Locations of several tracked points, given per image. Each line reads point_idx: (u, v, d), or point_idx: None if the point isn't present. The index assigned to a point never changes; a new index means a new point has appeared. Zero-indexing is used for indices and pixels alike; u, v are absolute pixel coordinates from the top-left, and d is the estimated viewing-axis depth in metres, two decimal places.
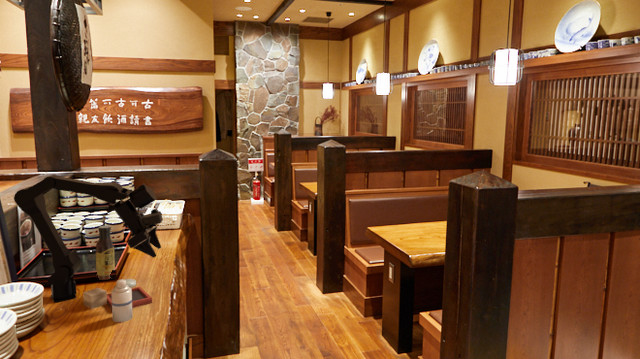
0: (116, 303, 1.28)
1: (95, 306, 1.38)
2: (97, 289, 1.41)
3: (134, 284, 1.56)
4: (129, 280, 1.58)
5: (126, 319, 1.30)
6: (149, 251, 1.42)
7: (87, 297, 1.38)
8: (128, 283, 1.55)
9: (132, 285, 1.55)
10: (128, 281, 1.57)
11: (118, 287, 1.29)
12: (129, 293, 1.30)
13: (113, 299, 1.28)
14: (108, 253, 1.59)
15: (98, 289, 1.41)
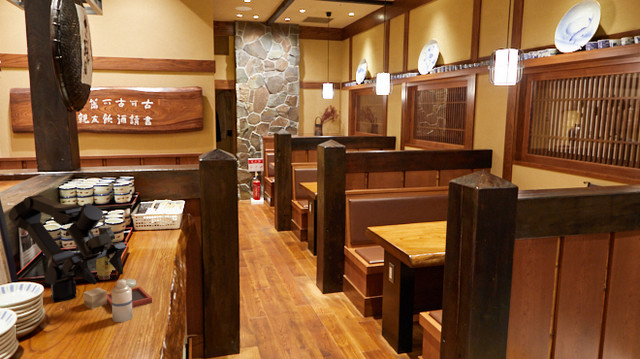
0: (116, 303, 1.28)
1: (95, 306, 1.38)
2: (97, 289, 1.41)
3: (134, 284, 1.56)
4: (129, 280, 1.58)
5: (126, 319, 1.30)
6: (88, 278, 1.28)
7: (87, 297, 1.38)
8: (128, 283, 1.55)
9: (132, 285, 1.55)
10: (128, 281, 1.57)
11: (118, 287, 1.29)
12: (129, 293, 1.30)
13: (113, 299, 1.28)
14: None
15: (98, 289, 1.41)
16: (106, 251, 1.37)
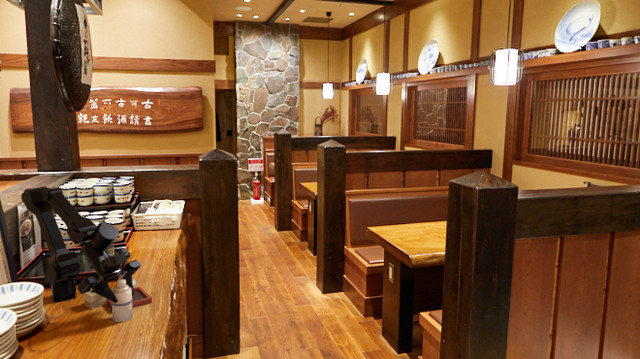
0: (116, 303, 1.28)
1: (95, 306, 1.38)
2: None
3: (134, 284, 1.55)
4: None
5: (126, 319, 1.30)
6: (108, 296, 1.27)
7: (87, 297, 1.38)
8: None
9: None
10: None
11: (118, 287, 1.29)
12: (129, 293, 1.30)
13: None
14: None
15: None
16: (121, 270, 1.35)
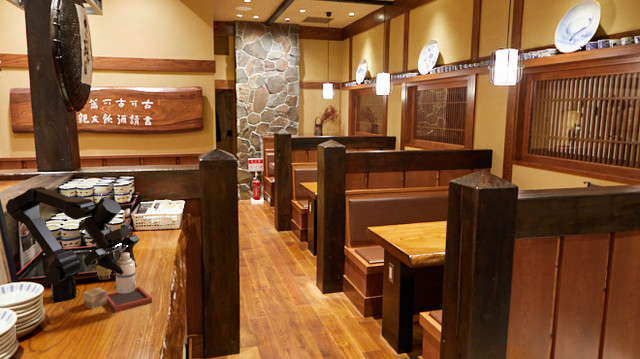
0: (121, 275, 1.33)
1: (95, 306, 1.38)
2: (97, 289, 1.41)
3: None
4: None
5: (131, 290, 1.35)
6: (114, 268, 1.32)
7: (87, 297, 1.38)
8: None
9: None
10: None
11: (123, 259, 1.34)
12: (133, 265, 1.35)
13: None
14: None
15: (98, 289, 1.41)
16: (121, 244, 1.39)
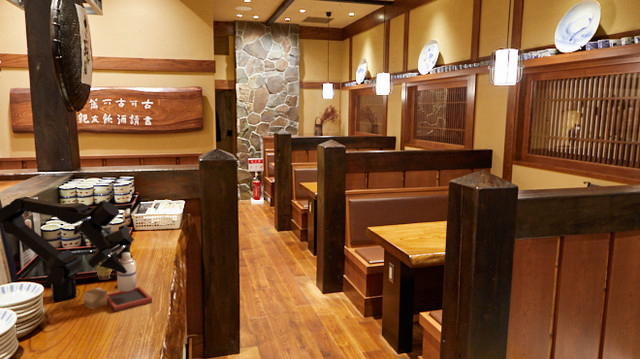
0: None
1: (95, 306, 1.38)
2: (97, 289, 1.41)
3: None
4: None
5: (133, 288, 1.41)
6: (118, 268, 1.37)
7: (87, 297, 1.38)
8: None
9: None
10: None
11: (125, 259, 1.40)
12: (135, 263, 1.42)
13: None
14: None
15: (98, 289, 1.41)
16: (118, 245, 1.44)
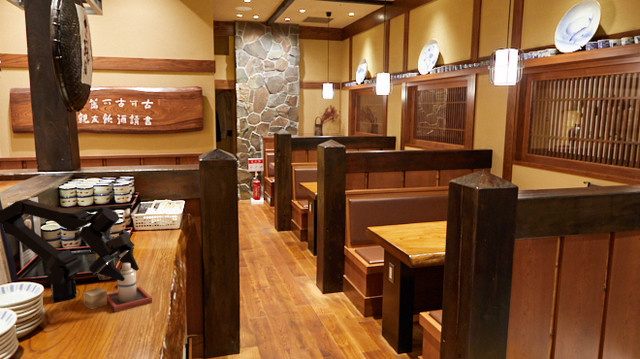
0: (125, 284, 1.39)
1: (95, 306, 1.38)
2: (97, 289, 1.41)
3: None
4: None
5: (134, 298, 1.42)
6: (115, 275, 1.36)
7: (87, 297, 1.38)
8: None
9: None
10: None
11: (125, 270, 1.40)
12: (135, 274, 1.42)
13: (121, 281, 1.39)
14: None
15: (98, 289, 1.41)
16: (119, 250, 1.45)
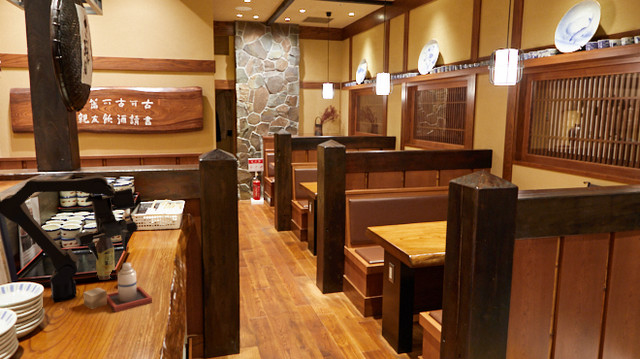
0: (125, 284, 1.39)
1: (95, 306, 1.38)
2: (97, 289, 1.41)
3: None
4: None
5: (134, 298, 1.42)
6: (93, 253, 1.45)
7: (87, 297, 1.38)
8: None
9: None
10: None
11: (125, 269, 1.40)
12: (135, 274, 1.42)
13: (122, 281, 1.39)
14: (108, 253, 1.59)
15: (98, 289, 1.41)
16: None
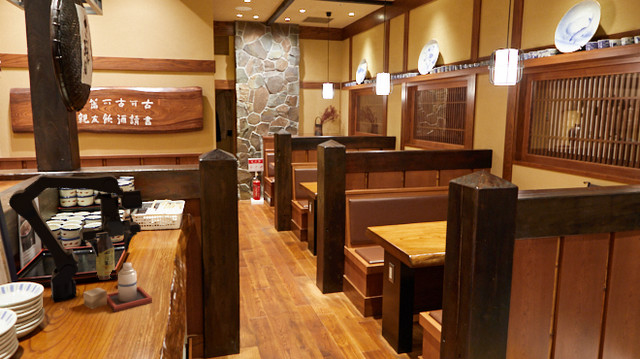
0: (126, 284, 1.40)
1: (95, 306, 1.38)
2: (97, 289, 1.41)
3: None
4: None
5: (134, 298, 1.42)
6: (94, 249, 1.46)
7: (87, 297, 1.38)
8: None
9: None
10: None
11: (126, 269, 1.40)
12: (136, 274, 1.42)
13: (122, 280, 1.39)
14: (108, 253, 1.59)
15: (98, 289, 1.41)
16: None
